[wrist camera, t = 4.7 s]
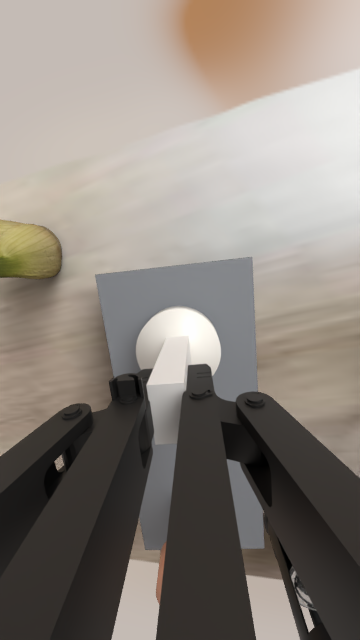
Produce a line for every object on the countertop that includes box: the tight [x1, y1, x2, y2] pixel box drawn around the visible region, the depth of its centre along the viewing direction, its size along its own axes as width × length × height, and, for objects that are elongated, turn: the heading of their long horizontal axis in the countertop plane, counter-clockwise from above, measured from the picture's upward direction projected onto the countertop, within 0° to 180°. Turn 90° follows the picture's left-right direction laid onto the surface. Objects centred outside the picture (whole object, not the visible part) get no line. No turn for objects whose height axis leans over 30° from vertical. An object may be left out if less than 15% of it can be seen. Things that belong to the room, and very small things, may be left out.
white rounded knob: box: [136, 306, 221, 376], centre depth 20 cm, size 6×6×8 cm
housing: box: [95, 257, 264, 550], centre depth 23 cm, size 12×28×7 cm, turn 6°
